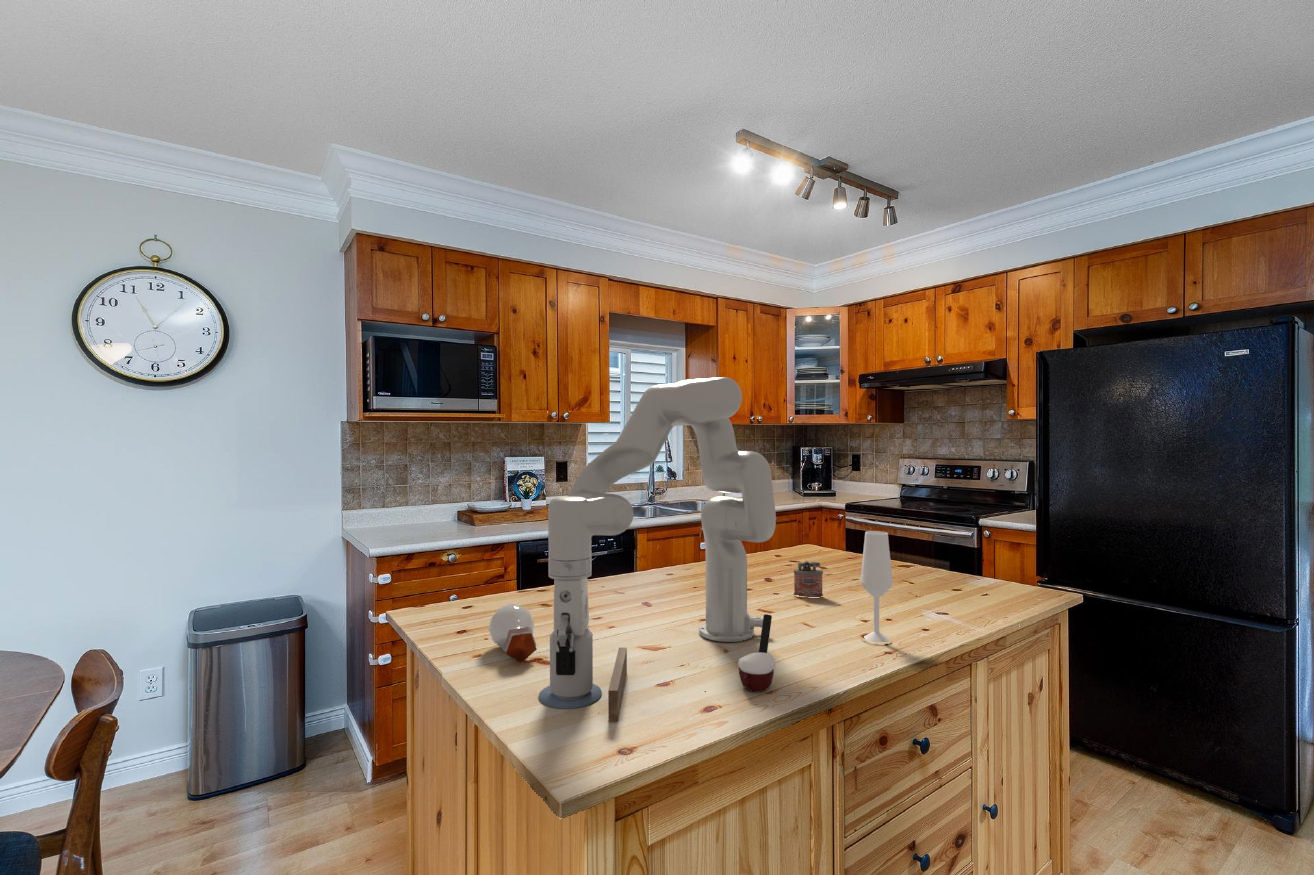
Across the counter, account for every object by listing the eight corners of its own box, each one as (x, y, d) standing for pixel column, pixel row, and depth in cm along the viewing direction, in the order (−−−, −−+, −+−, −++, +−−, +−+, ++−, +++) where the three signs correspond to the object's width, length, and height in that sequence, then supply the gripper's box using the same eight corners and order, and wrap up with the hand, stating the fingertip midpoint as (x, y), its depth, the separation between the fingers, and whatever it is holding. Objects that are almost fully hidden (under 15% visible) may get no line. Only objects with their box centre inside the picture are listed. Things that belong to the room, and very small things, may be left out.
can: (585, 703, 105) (585, 633, 105) (543, 700, 107) (543, 630, 107) (597, 686, 113) (597, 620, 112) (558, 682, 114) (558, 617, 114)
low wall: (626, 673, 119) (626, 647, 119) (617, 721, 99) (617, 690, 99) (619, 673, 119) (618, 647, 119) (608, 721, 99) (608, 690, 99)
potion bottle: (512, 645, 140) (527, 676, 126) (476, 625, 136) (487, 655, 122) (536, 610, 141) (554, 637, 127) (502, 589, 137) (516, 615, 124)
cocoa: (749, 701, 108) (748, 633, 107) (727, 687, 113) (726, 623, 112) (789, 686, 113) (789, 622, 112) (766, 674, 118) (765, 612, 117)
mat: (604, 682, 115) (604, 681, 115) (597, 709, 104) (597, 707, 104) (545, 682, 115) (545, 680, 115) (532, 708, 104) (532, 706, 104)
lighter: (794, 597, 174) (793, 562, 174) (793, 594, 177) (793, 559, 177) (823, 598, 173) (823, 563, 173) (822, 595, 176) (822, 560, 176)
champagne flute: (885, 647, 133) (885, 536, 133) (855, 640, 138) (855, 532, 138) (897, 640, 138) (897, 532, 138) (868, 633, 143) (868, 529, 143)
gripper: (584, 578, 101) (584, 683, 101) (597, 557, 118) (597, 647, 118) (538, 578, 101) (538, 683, 101) (557, 557, 118) (558, 647, 118)
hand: (570, 663), depth 109 cm, fingers open, 9 cm apart
